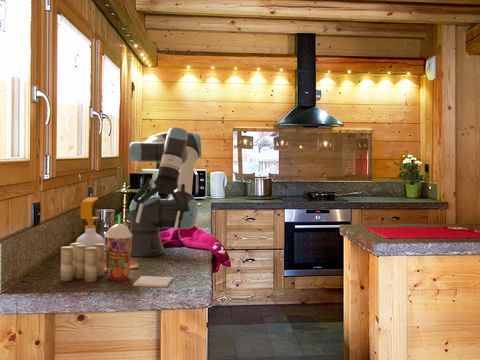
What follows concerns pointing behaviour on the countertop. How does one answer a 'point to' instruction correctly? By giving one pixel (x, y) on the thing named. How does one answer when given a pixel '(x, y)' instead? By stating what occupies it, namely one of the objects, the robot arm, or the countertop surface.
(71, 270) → the spacer posts
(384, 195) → the countertop surface
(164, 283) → the plate
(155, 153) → the robot arm
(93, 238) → the soap bottle
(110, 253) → the smoothie
